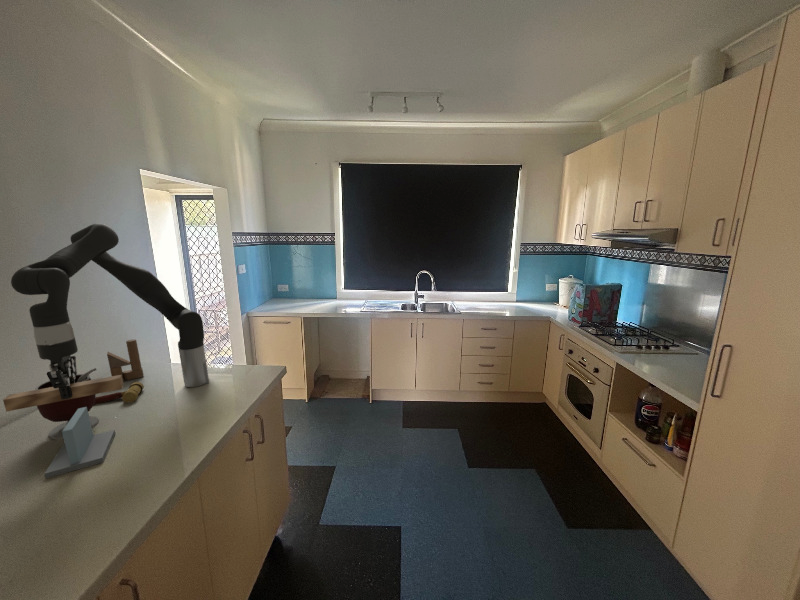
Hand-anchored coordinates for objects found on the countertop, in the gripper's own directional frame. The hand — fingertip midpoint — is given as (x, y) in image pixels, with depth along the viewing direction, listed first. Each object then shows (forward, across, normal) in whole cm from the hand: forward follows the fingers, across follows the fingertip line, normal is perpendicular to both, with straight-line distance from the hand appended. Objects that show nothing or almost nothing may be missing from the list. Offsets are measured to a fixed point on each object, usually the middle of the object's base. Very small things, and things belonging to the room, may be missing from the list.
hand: (69, 395), depth 94 cm
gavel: (+20, -38, -1) cm, 43 cm away
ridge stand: (+19, 0, 0) cm, 19 cm away
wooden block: (+20, -59, +2) cm, 62 cm away
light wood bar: (+1, 0, 0) cm, 1 cm away
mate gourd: (+20, -20, -6) cm, 29 cm away
